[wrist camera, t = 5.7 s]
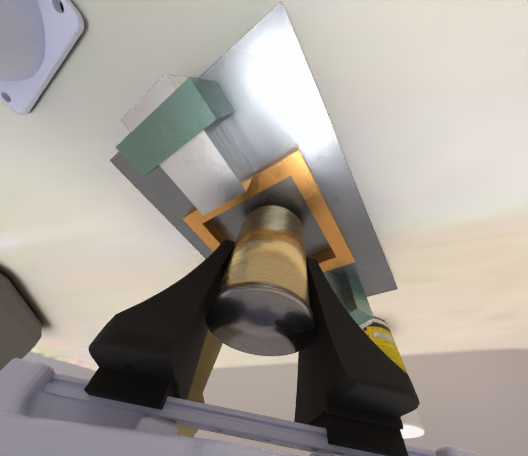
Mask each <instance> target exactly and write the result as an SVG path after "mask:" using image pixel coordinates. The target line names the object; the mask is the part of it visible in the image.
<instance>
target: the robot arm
mask: <svg viewBox="0 0 528 456" xmlns="http://www.w3.org/2000/svg"><path fill="white" fill-rule="evenodd" d="M60 2H62V4H63V7H64V12H63V11H62V10H61V7H60ZM83 30H84V21H83V18H82V16H81V14H80V13H79V11H78V10H77V9H76V7H75V6H74V5H73V4H72V2H71V1H70V0H0V99H1V100H2V101H3V102H4V103H5V104H7V105H8V106H9V107H10V108H11V109H12V110H13V111H15V112H16V113H18V114H27V113H29V112H30V110H31V109H32V107H33V106H34V104H35V103H36V101H37V100H38V98H39V97H40V95H41V94H42V92H43V91H44V89H45V88H46V86H47V85H48V83H49V82H50V80H51V79H52V77H53V76H54V74H55V73H56V71H57V70H58V68H59V67H60V65H61V64H62V62H63V61H64V59H65V58H66V56H67V55H68V53H69V52H70V50H71V49H72V47H73V46H74V44H75V43H76V41H77V40H78V38H79V37H80V35H81V34H82V32H83ZM234 245H235V242H234V241H229V240H224V241H223V242H222V243H221V244H220V245H219V246H218V248H217V249H216V250H215V251H214V252H213V253H212V254H211V255H210V256H209V257H208V258H207V259H205V260H204V261H203V262H202V263H201V264H200V265H199V266H197V267H196V268H195V269H194V270H193V271H191V272H190V273H189V274H188V275H186V276H185V277H183V278H182V279H181V280H179V281H178V282H176V283H175V284H173V285H172V286H170V287H168V288H167V289H165V290H164V291H162V292H160V293H158V294H156V295H155V296H153V297H151V298H149V299H147V300H145V301H144V302H142V303H140V304H137V305H135V306H133V307H131V308H129V309H127V310H125V311H122V312H120V313H118V314H116V315H115V316H114V317H113V318H112V319H111V320H110V321H109V322H108V323H107V324H106V326H105V327H104V328H103V329H102V330H101V332H100V333H99V334H98V335H97V337H96V338H95V339H94V341H93V342H92V343H91V344H90V346H89V352H90V355H91V356H92V358H93V359H94V360H95V362H96V363H97V365H98V366H99V368H98V370H97V371H96V373H95V374H94V376H93V377H92V378H91V380H87V379H81V378H77V377H72V376H67V375H62V374H57V373H55V371H54V369H53V368H51V367H50V366H48V365H45V364H42V363H38V362H34V361H29V360H24V359H19V358H15V359H12V360H11V361H10V362H9V363H8V364H7V365H6V366H5V367H4V368H3V369H2V370H1V371H0V456H297V455H293V454H288V453H283V452H278V451H273V450H268V449H263V448H258V447H253V446H248V445H243V444H238V443H233V442H227V441H221V440H210V439H203V438H196V437H188V436H180V435H178V434H177V433H178V427H177V426H174V425H171V424H176V425H181V426H186V427H191V428H196V429H201V430H206V431H211V432H216V433H221V434H225V435H230V436H235V437H240V438H245V439H250V440H256V441H260V442H265V443H270V444H275V445H280V446H285V447H289V448H295V449H300V450H305V451H309V452H314V453H311V455H310V456H482V455H481V454H479V453H477V452H473V451H468V450H463V449H458V448H452V447H445V448H440V449H437V450H436V451H434V450H428V449H424V448H419V447H414V446H409V445H405V444H404V440H403V437H402V434H401V431H400V429H401V430H402V429H403V423H402V420H401V416H403V415H405V414H407V413H410V412H412V411H414V410H415V409H416V408H417V407H418V405H419V399H418V397H417V394H416V392H415V389H414V387H413V385H412V383H411V380H410V378H409V376H408V374H407V373H406V372H405V371H403V370H402V369H401V368H400V367H399V366H398V365H397V364H396V363H395V362H394V361H392V360H391V359H390V358H389V357H388V356H387V355H386V354H385V353H384V352H383V351H382V350H381V349H380V348H379V347H378V346H377V345H376V344H375V343H374V342H373V341H372V340H371V339H370V338H369V337H368V335H367V334H366V333H365V332H364V331H363V330H362V329H361V327H360V326H359V325H358V324H357V323H356V322H355V320H354V319H353V318H352V317H351V315H350V314H349V313H348V311H347V310H346V309H345V307H344V306H343V305H342V303H341V302H340V300H339V299H338V297H337V296H336V294H335V292H334V291H333V289H332V287H331V286H330V284H329V282H328V281H327V279H326V277H325V275H324V273H323V271H322V269H321V268H320V266H319V264H318V262H317V260H316V259H313V258H308V257H306V262H307V274H308V286H309V298H310V308H311V309H312V312H313V317H314V327H315V336H314V338H313V340H312V342H311V343H310V344H309V345H308V346H307V347H306V348H304V349H302V350H300V351H299V358H298V380H297V396H296V410H295V421H294V422H291V421H287V420H282V419H277V418H272V417H268V416H263V415H258V414H252V413H248V412H243V411H238V410H233V409H228V408H223V407H219V406H213V405H209V404H204V403H199V402H194V401H189V400H187V399H188V396H189V392H190V389H191V385H192V382H193V378H194V375H195V371H196V368H197V365H198V361H199V358H200V354H201V351H202V348H203V345H204V341H205V338H206V335H207V332H208V327H207V325H206V314H207V311H208V308H209V306H210V303H211V300H212V299H213V297H214V295H215V294H216V293H217V291H218V288H219V286H220V283H221V280H222V277H223V275H224V272H225V269H226V267H227V264H228V261H229V259H230V256H231V253H232V250H233V248H234ZM169 423H171V424H169Z"/></svg>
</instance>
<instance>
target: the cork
mask: <svg viewBox="0 0 528 456" xmlns="http://www.w3.org/2000/svg"><path fill="white" fill-rule="evenodd" d="M222 344H223V343H222V342H221V341H219V340H218V339H217V338H216V337H215V336H213V334H212V333H211V332H210V331H209V329H208V332H207V335H206V338H205V341H204V345H203V348H202V351H201V354H200V358H199V361H198V365H197V368H196V371H195V375H194V378H193V382H192V385H191V389H190V392H189V396H188V399H187V400H189V401H194V402H199V403H204V398H203V391H204V388H205V386H206V383H207V381H208V378H209V376H210V373H211V371H212V369H213V366H214V364H215V361H216V359H217V356H218V354H219V351H220V349H221V346H222ZM204 404H205V403H204ZM169 424H171V423H169ZM171 425H174V426H177V427H178V433H177V434H178V435H180V436H188V437H193V436H194V435H195V433H196V432H197V430H198V429H196V428H191V427H186V426H181V425H176V424H171Z"/></svg>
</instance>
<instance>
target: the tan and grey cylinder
mask: <svg viewBox="0 0 528 456" xmlns="http://www.w3.org/2000/svg"><path fill="white" fill-rule="evenodd" d="M206 325H207V327H208V329H209V331H210V332H211V333H212V334H213V336H215V337H216V338H217V339H218V340H219V341H221V342H222V343H224V344H225V345H227V346H229V347H231V348H234V349H236V350H239V351H242V352H245V353H249V354H254V355H261V356H282V355H288V354H292V353H296V352H298V351H300V350H302V349H304V348H306V347H307V346H308V345H309V344H310V343H311V342H312V340H313V338H314V336H315V327H314V317H313V312H312V309H311V308H310V298H309V286H308V274H307V262H306V251H305V239H304V228H303V225H302V223H301V221H300V219H299V218H298V217H297V216H296V215H295V214H294V213H293V212H291V211H290V210H288V209H286V208H283V207H279V206H263V207H259V208H257V209H255V210H253V211H251V212H250V213H249V214H248V215H247V216H246V217H245V219H244V221H243V223H242V226H241V229H240V231H239V234H238V237H237V240H236V242H235V245H234V248H233V250H232V253H231V256H230V259H229V261H228V264H227V267H226V269H225V272H224V275H223V277H222V280H221V283H220V286H219V288H218V291H217V293H216V294H215V295H214V297H213V299H212V300H211V303H210V306H209V308H208V311H207V314H206Z"/></svg>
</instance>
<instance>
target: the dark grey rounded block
mask: <svg viewBox="0 0 528 456" xmlns="http://www.w3.org/2000/svg"><path fill="white" fill-rule="evenodd" d="M40 338H41V322H40V321H39V320H38V318H37V317H36V316H35V314H34V313H33V312H32V310H31V309H30V307H29V306H28V305H27V303H26V302H25V301H24V299H23V298H22V297H21V295H20V294H19V293H18V291H17V290H16V289H15V287H14V286H13V284H12V283H11V282H10V280H9V279H8V278H7V277H5V276H4V275H2V274H1V273H0V371H1V370H2V369H3V368H4V367H5V366H6V365H7V364H8V363H9V362H10V361H11V360H12V359H15V358H19V359H22V358H23V357H24V356H25V355H26V354H27V353H28V352H29V351H30V350H31V349H32V348H33V347H34V346H35V345H36V344H37V342H38V341H39V339H40Z"/></svg>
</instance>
